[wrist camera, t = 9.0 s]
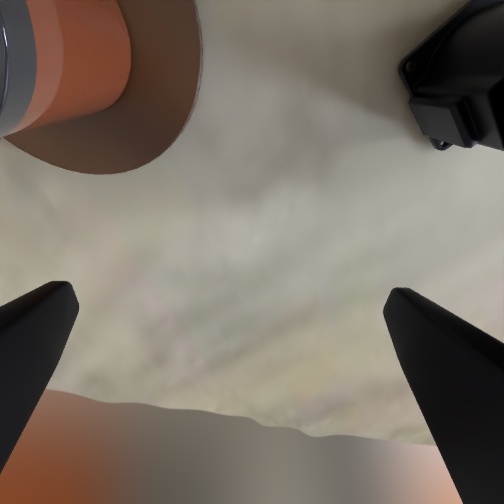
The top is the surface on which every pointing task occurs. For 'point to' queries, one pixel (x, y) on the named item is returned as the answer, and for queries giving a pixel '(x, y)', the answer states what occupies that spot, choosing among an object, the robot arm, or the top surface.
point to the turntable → (133, 97)
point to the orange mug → (59, 60)
